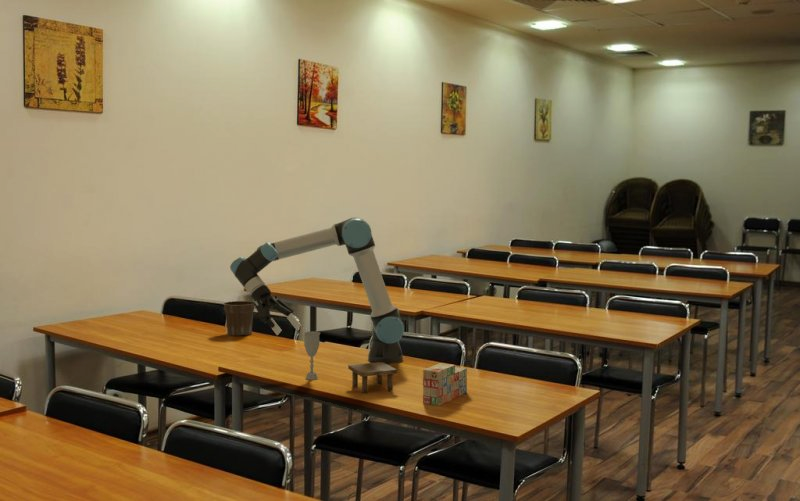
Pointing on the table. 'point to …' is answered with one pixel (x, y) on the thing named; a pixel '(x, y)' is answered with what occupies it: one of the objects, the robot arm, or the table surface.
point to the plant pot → (239, 317)
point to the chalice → (311, 350)
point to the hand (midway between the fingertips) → (289, 330)
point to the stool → (372, 374)
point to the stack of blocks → (443, 383)
